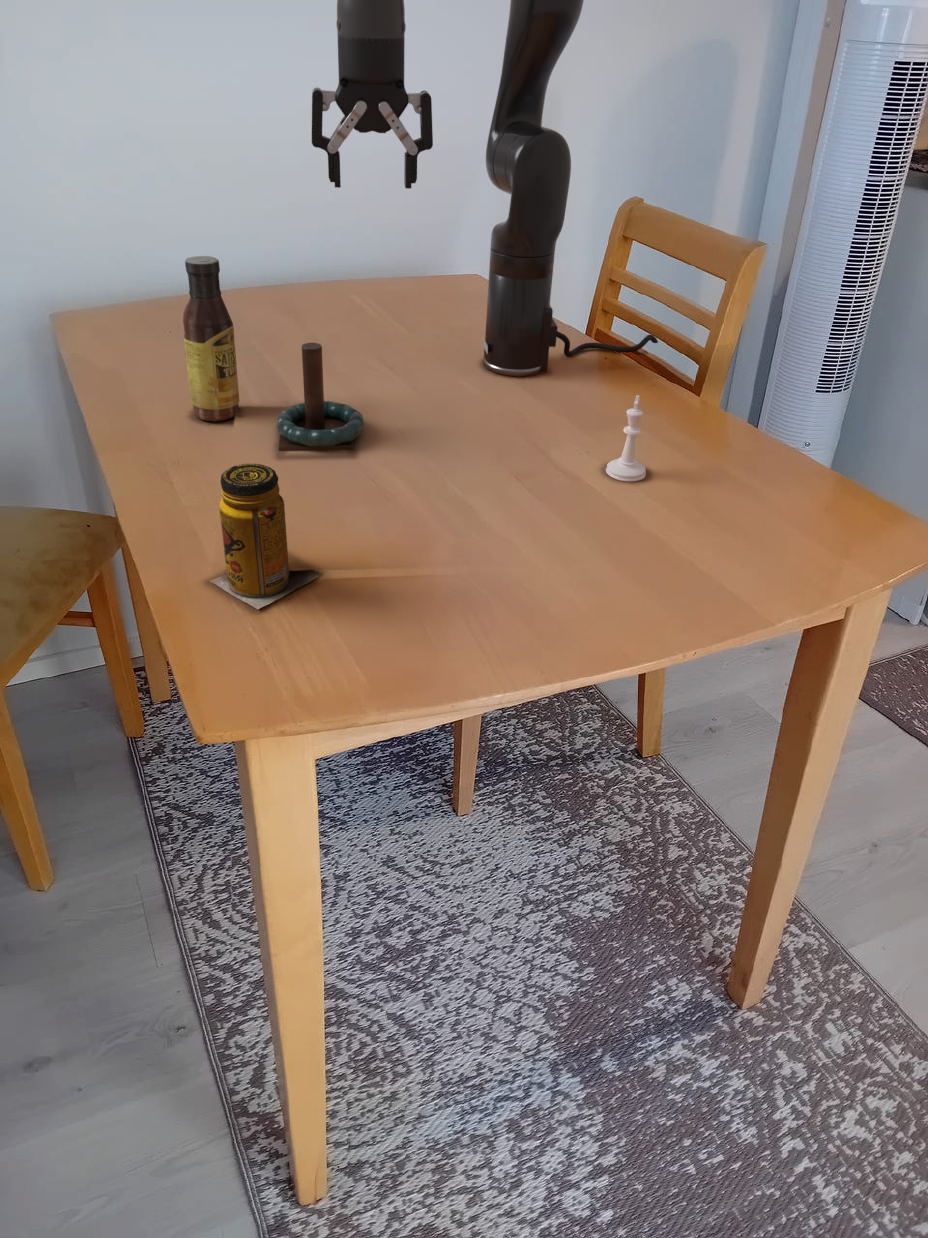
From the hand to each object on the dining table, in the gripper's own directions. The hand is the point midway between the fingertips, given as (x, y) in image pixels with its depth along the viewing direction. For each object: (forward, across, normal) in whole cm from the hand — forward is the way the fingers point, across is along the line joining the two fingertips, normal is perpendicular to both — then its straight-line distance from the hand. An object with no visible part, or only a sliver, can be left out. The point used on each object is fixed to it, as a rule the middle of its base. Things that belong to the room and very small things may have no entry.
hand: (372, 186), depth 119 cm
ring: (+26, +7, +12) cm, 29 cm away
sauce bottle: (+28, +21, +3) cm, 35 cm away
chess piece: (+28, -30, +22) cm, 47 cm away
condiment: (+28, +13, +44) cm, 54 cm away
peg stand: (+28, +8, +12) cm, 32 cm away
